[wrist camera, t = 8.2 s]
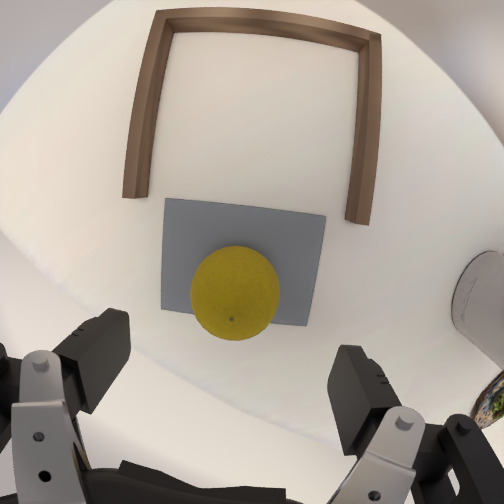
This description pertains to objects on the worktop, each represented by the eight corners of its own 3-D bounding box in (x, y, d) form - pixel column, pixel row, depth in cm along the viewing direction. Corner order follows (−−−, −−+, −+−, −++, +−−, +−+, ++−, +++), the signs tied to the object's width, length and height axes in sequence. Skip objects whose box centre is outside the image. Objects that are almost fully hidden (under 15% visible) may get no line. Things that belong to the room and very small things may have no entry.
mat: (325, 216, 21) (326, 216, 21) (306, 325, 23) (306, 326, 23) (165, 198, 21) (165, 198, 21) (161, 308, 23) (161, 309, 23)
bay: (370, 46, 18) (381, 34, 15) (356, 220, 21) (368, 225, 19) (164, 24, 17) (156, 10, 15) (135, 195, 21) (122, 197, 18)
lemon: (274, 305, 23) (283, 364, 15) (203, 305, 23) (182, 361, 15) (276, 236, 21) (289, 266, 14) (200, 235, 21) (172, 265, 14)
